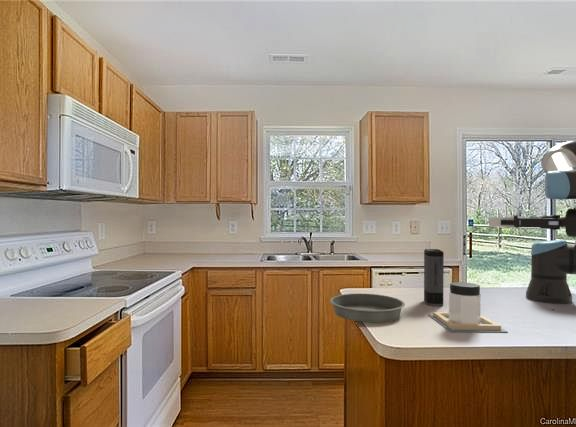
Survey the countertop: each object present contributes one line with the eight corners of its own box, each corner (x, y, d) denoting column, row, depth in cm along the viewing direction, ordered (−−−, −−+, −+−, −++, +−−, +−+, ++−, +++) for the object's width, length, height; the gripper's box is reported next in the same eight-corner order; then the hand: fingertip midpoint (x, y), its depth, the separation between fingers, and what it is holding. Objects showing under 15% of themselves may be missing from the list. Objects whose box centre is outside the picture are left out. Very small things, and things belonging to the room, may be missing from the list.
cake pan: (321, 319, 122) (321, 305, 122) (339, 303, 145) (339, 291, 145) (401, 328, 113) (401, 313, 113) (407, 309, 136) (407, 296, 136)
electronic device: (444, 306, 140) (444, 251, 140) (427, 305, 141) (427, 251, 141) (439, 300, 149) (439, 249, 149) (423, 300, 150) (423, 248, 150)
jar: (453, 318, 122) (454, 281, 122) (482, 323, 117) (482, 283, 117) (446, 325, 115) (446, 285, 115) (476, 330, 110) (476, 288, 110)
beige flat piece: (477, 315, 127) (477, 311, 127) (507, 332, 109) (507, 327, 109) (428, 315, 127) (428, 310, 127) (450, 332, 109) (450, 326, 109)
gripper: (576, 240, 92) (482, 235, 107) (593, 234, 109) (510, 231, 125) (576, 208, 92) (482, 208, 107) (593, 208, 109) (510, 208, 125)
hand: (497, 221), depth 116 cm, fingers open, 13 cm apart
